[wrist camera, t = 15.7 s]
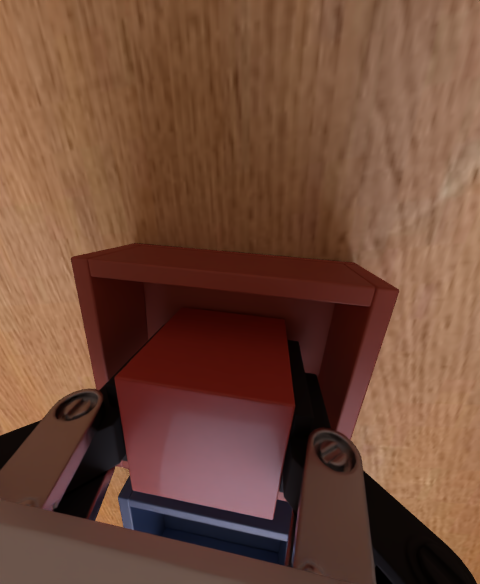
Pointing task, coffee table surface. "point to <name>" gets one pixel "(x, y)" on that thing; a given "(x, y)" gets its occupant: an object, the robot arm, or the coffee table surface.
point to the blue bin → (207, 525)
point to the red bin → (240, 309)
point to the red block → (210, 411)
